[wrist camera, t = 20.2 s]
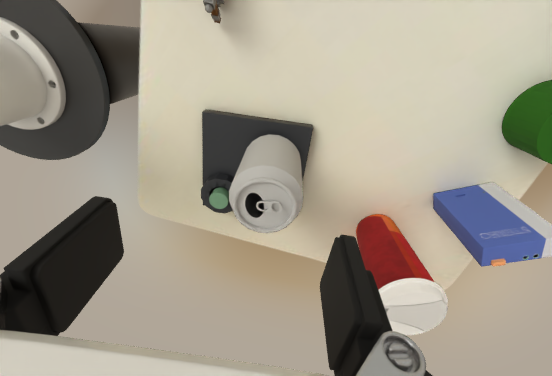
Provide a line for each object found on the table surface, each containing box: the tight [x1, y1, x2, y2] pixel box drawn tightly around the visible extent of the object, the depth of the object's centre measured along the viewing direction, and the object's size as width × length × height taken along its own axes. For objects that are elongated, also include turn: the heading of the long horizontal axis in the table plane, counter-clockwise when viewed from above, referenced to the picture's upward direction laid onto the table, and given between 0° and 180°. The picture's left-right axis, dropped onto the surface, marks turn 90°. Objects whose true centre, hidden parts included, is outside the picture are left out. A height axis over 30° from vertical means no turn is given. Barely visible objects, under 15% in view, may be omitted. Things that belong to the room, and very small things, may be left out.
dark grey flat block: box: [201, 110, 313, 213], centre depth 37 cm, size 14×14×3 cm
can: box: [229, 134, 303, 233], centre depth 31 cm, size 8×8×12 cm
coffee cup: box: [356, 214, 448, 335], centre depth 36 cm, size 8×8×15 cm
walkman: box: [433, 182, 552, 266], centre depth 33 cm, size 8×3×12 cm, turn 106°
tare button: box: [209, 187, 229, 209], centre depth 37 cm, size 3×3×2 cm
